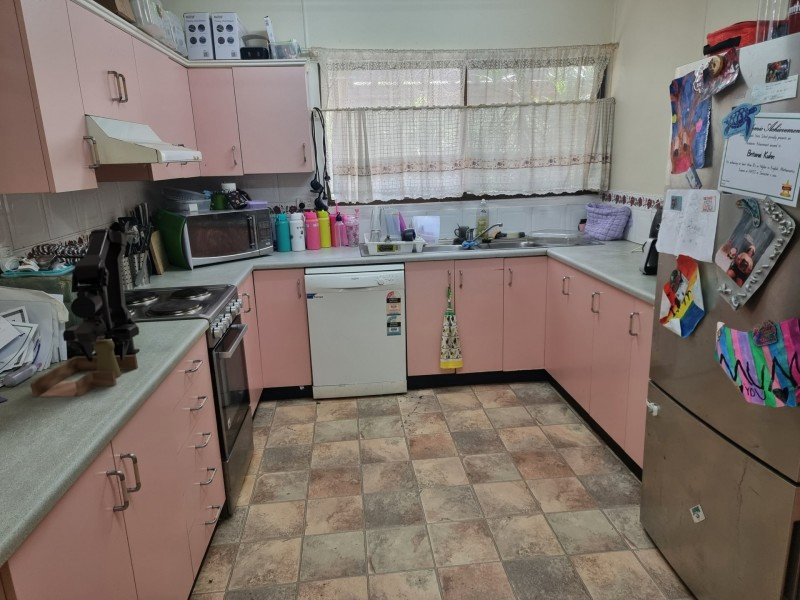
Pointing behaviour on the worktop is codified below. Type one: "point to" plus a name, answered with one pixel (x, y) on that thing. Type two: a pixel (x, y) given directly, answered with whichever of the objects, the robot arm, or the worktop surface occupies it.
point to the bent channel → (86, 381)
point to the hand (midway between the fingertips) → (106, 360)
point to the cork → (106, 357)
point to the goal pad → (62, 389)
